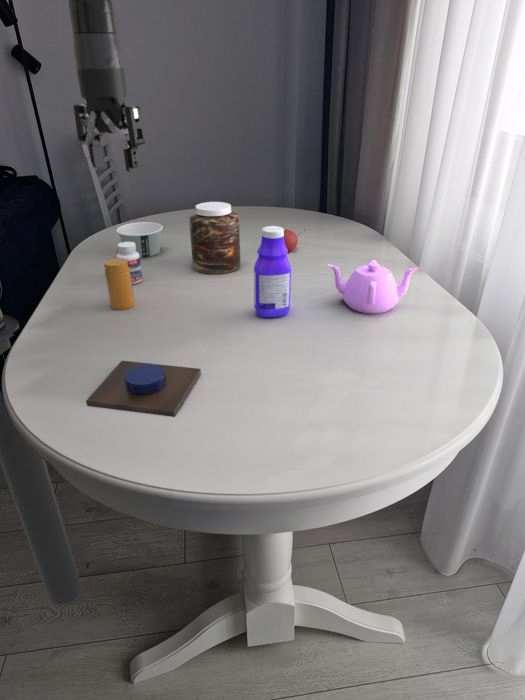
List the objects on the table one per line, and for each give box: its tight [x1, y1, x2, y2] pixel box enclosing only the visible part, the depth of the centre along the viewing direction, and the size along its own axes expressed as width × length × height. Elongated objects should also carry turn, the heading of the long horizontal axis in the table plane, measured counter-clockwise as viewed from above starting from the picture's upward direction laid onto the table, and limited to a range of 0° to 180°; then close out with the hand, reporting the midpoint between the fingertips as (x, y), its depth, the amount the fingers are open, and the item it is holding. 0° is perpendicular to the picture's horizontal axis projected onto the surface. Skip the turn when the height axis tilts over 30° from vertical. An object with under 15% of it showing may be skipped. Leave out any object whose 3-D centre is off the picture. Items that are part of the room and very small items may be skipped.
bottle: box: [253, 225, 292, 318], centre depth 100 cm, size 7×6×17 cm
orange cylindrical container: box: [103, 257, 136, 311], centre depth 106 cm, size 5×5×10 cm
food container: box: [115, 221, 164, 259], centre depth 137 cm, size 12×12×6 cm
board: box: [85, 360, 202, 418], centre depth 80 cm, size 14×12×1 cm
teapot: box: [327, 259, 419, 314], centre depth 105 cm, size 12×14×9 cm
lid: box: [125, 363, 166, 395], centre depth 80 cm, size 6×6×2 cm
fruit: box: [284, 229, 306, 253], centre depth 137 cm, size 6×6×8 cm
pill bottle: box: [115, 242, 143, 285], centre depth 118 cm, size 5×5×9 cm
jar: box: [189, 201, 241, 275], centre depth 124 cm, size 12×12×15 cm
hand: (115, 168), depth 92 cm, fingers open, 8 cm apart
